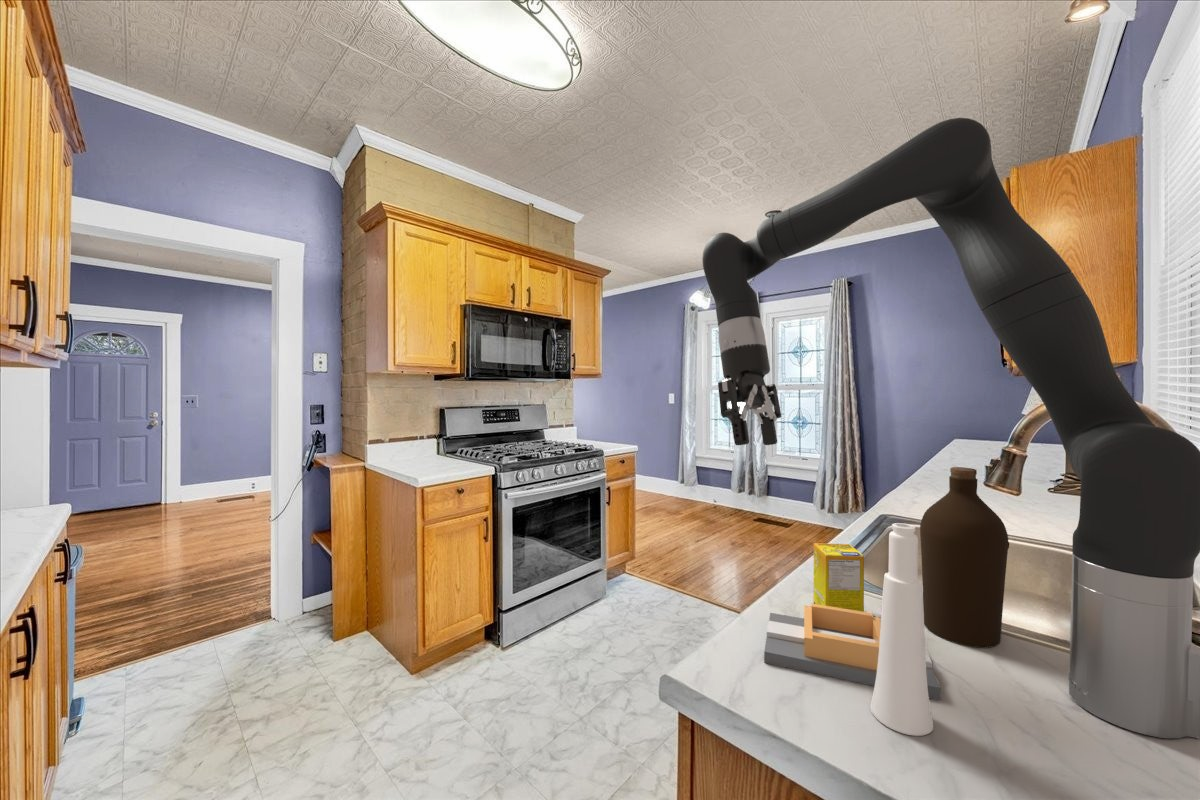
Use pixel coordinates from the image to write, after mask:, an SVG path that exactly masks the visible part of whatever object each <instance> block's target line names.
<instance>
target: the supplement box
mask: <svg viewBox="0 0 1200 800" xmlns="http://www.w3.org/2000/svg"><path fill="white" fill-rule="evenodd" d="M813 604H818V605H825V606H831V607H837V608H843V609H850V610H856V611H862V612H865V557H864V555H863V553H862V552H860V551H858V550H857V549H856V548H855V547H853V546H852V545H851V544H850V543H819V542H818V543H817V542H815V543H813Z"/></svg>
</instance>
